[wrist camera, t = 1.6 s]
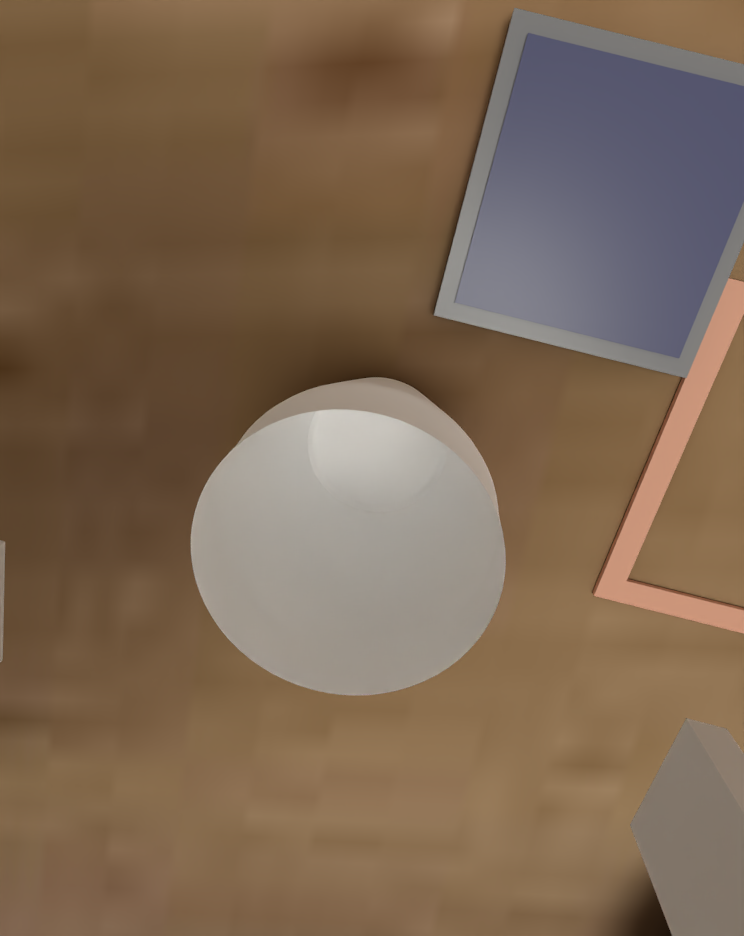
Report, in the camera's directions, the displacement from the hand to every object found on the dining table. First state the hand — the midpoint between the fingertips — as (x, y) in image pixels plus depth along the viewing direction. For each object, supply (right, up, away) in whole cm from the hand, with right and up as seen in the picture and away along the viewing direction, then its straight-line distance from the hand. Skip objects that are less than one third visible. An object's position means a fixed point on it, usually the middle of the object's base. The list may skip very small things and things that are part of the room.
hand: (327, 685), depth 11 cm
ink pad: (+10, +15, +12) cm, 22 cm away
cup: (+1, +5, +16) cm, 17 cm away
